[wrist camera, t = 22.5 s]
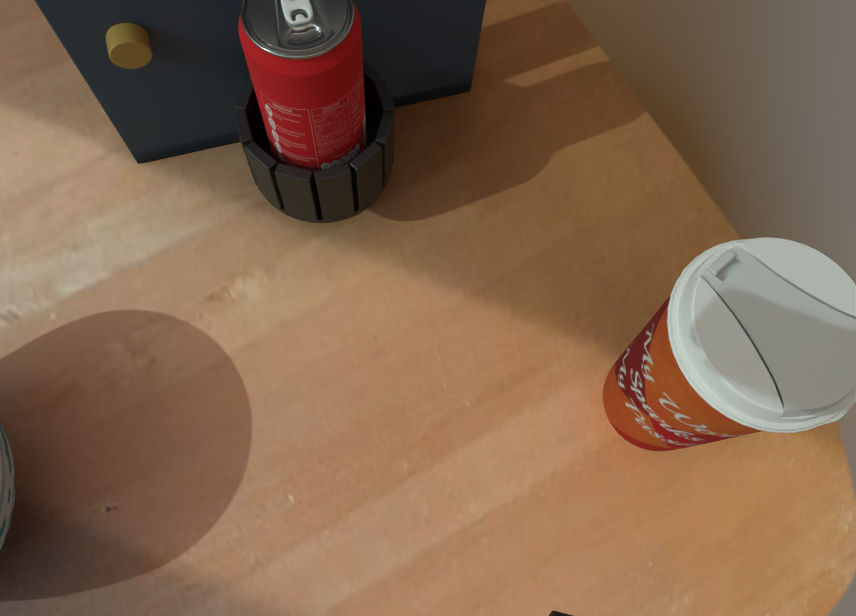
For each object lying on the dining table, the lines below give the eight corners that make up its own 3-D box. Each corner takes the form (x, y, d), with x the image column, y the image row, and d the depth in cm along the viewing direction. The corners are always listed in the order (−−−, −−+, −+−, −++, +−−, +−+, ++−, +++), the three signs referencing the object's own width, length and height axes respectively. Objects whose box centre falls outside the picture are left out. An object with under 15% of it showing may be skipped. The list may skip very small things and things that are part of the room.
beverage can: (288, 210, 40) (250, 74, 29) (266, 132, 42) (222, -26, 31) (378, 187, 41) (375, 46, 30) (353, 111, 43) (341, -50, 31)
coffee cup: (553, 391, 42) (636, 307, 28) (650, 306, 44) (773, 188, 30) (656, 504, 41) (801, 476, 26) (752, 410, 43) (934, 337, 28)
